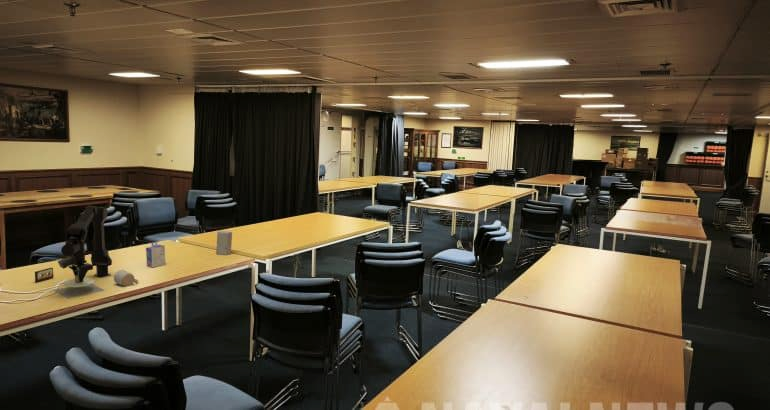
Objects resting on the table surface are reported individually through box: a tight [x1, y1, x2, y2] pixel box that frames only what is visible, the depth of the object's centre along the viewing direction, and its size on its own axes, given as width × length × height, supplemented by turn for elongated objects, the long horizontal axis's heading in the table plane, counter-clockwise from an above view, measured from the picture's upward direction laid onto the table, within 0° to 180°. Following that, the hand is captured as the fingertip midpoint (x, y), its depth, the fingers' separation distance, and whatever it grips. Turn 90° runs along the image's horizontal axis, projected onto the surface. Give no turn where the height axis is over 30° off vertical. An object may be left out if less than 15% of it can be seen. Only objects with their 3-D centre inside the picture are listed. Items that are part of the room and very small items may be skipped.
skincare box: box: [215, 230, 233, 256], centre depth 324 cm, size 8×7×16 cm
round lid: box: [63, 275, 95, 288], centre depth 236 cm, size 13×13×4 cm
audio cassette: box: [34, 267, 55, 283], centre depth 251 cm, size 9×1×6 cm, turn 164°
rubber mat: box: [54, 283, 106, 299], centre depth 237 cm, size 17×17×1 cm
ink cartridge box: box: [145, 241, 166, 268], centre depth 288 cm, size 10×6×14 cm, turn 155°
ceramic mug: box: [113, 269, 139, 287], centre depth 251 cm, size 11×8×8 cm
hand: (79, 280), depth 237 cm, fingers closed on round lid, 4 cm apart
